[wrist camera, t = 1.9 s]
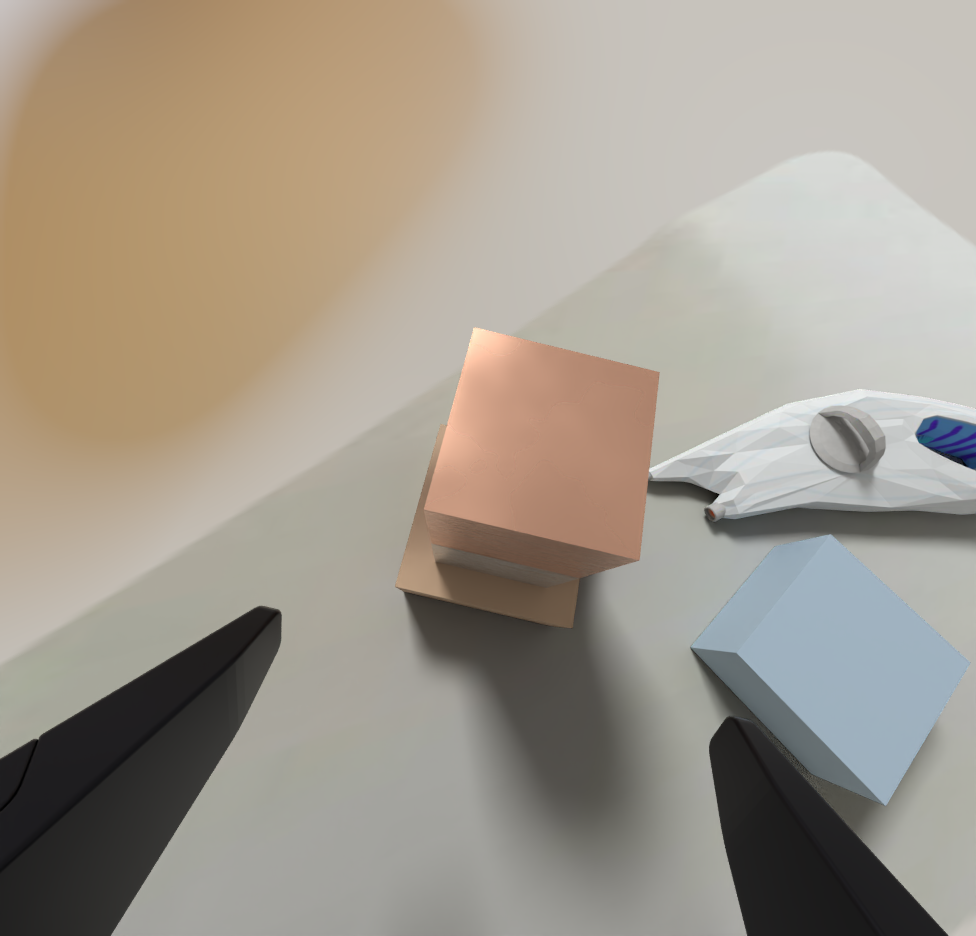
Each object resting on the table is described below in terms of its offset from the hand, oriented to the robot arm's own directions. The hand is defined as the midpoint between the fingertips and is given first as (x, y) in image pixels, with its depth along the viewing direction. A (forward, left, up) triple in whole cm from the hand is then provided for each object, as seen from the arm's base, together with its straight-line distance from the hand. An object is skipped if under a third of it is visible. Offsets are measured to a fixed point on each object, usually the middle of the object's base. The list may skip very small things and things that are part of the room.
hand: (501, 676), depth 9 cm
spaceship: (+16, -15, -12) cm, 25 cm away
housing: (+5, +1, -8) cm, 10 cm away
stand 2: (+6, -14, -12) cm, 19 cm away
